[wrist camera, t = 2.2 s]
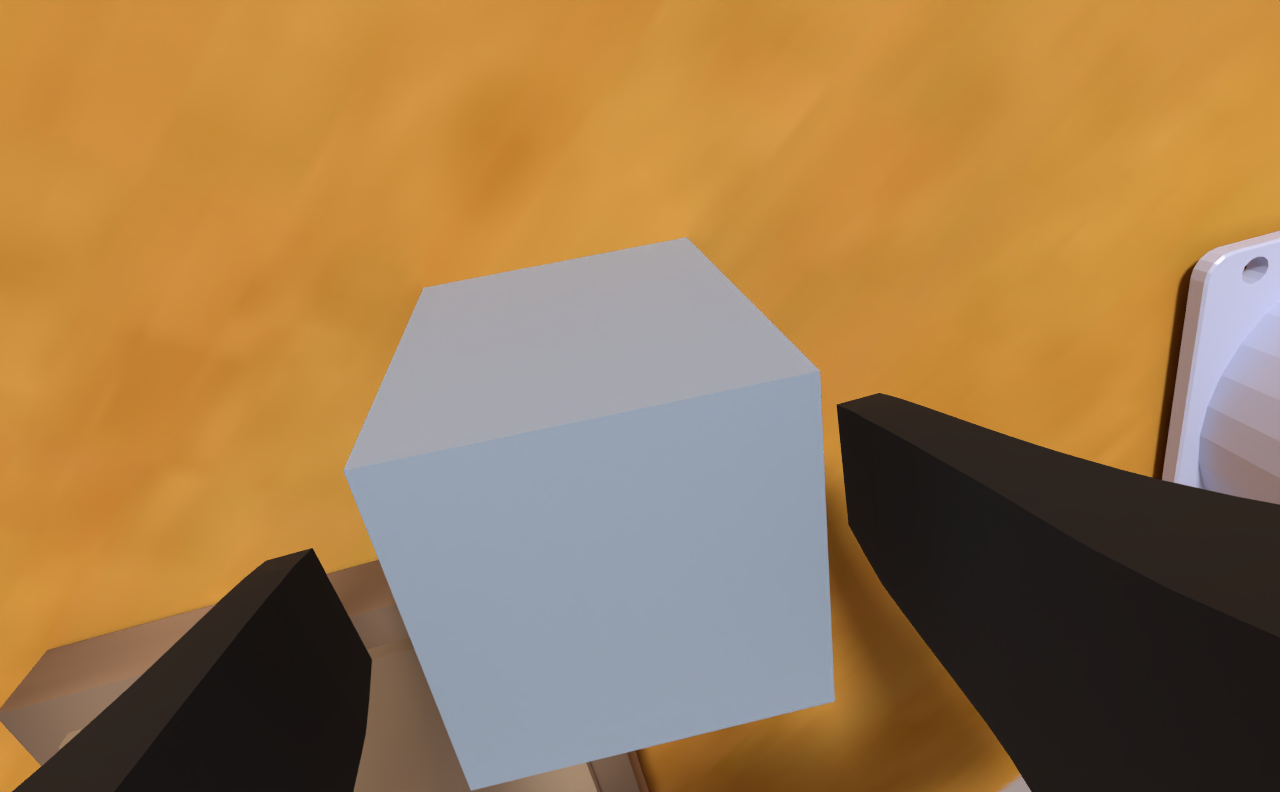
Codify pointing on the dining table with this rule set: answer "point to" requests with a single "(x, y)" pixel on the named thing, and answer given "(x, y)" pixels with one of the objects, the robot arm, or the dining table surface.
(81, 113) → the dining table surface
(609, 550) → the blue block
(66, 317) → the dining table surface
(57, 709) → the walnut plinth
